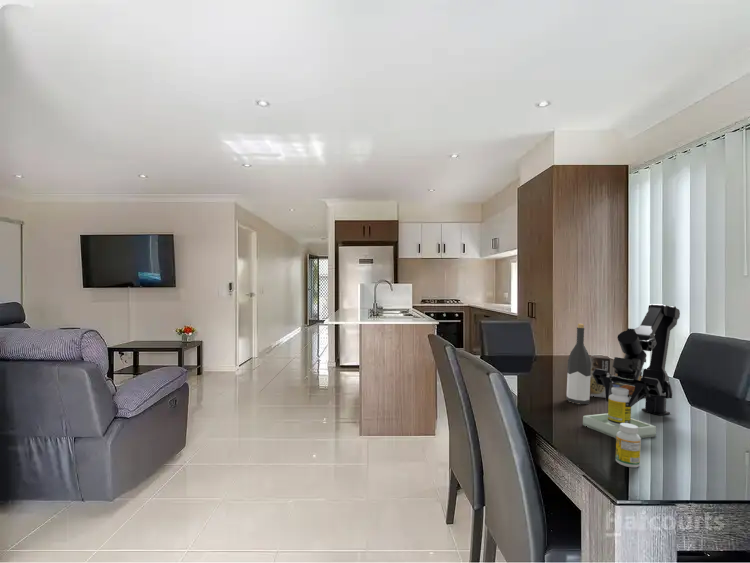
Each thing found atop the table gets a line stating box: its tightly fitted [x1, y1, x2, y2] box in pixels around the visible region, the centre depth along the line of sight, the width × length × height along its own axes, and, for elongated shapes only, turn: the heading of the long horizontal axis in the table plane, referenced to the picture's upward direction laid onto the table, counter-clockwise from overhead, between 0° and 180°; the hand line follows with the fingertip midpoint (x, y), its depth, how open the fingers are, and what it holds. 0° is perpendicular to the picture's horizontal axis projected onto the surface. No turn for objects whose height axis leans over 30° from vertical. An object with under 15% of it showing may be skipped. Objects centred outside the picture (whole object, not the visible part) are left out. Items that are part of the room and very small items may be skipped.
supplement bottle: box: [615, 423, 642, 468], centre depth 108 cm, size 5×5×10 cm
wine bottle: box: [566, 323, 591, 405], centre depth 165 cm, size 8×8×30 cm
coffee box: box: [589, 354, 611, 399], centre depth 177 cm, size 9×6×16 cm
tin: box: [612, 373, 643, 396], centre depth 181 cm, size 15×3×8 cm, turn 68°
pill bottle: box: [607, 387, 632, 427], centre depth 133 cm, size 6×6×11 cm
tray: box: [582, 412, 657, 439], centre depth 133 cm, size 14×14×3 cm
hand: (617, 403), depth 133 cm, fingers closed on pill bottle, 6 cm apart
